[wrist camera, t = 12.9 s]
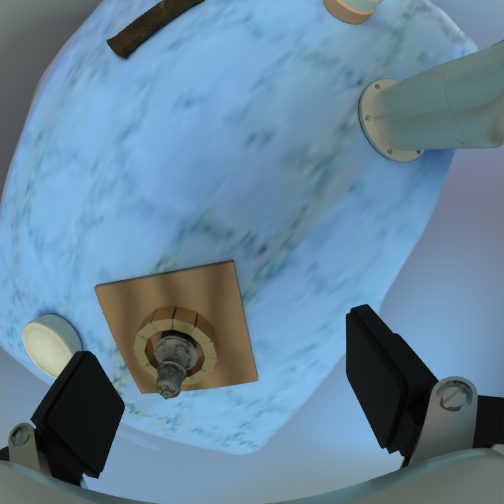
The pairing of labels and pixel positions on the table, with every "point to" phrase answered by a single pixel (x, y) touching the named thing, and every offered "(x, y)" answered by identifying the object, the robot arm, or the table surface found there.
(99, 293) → the wooden board
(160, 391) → the stone chess piece
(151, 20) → the brown long rounded piece
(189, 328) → the wooden ring
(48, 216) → the table surface
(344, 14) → the pepper shaker
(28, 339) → the ramekin
